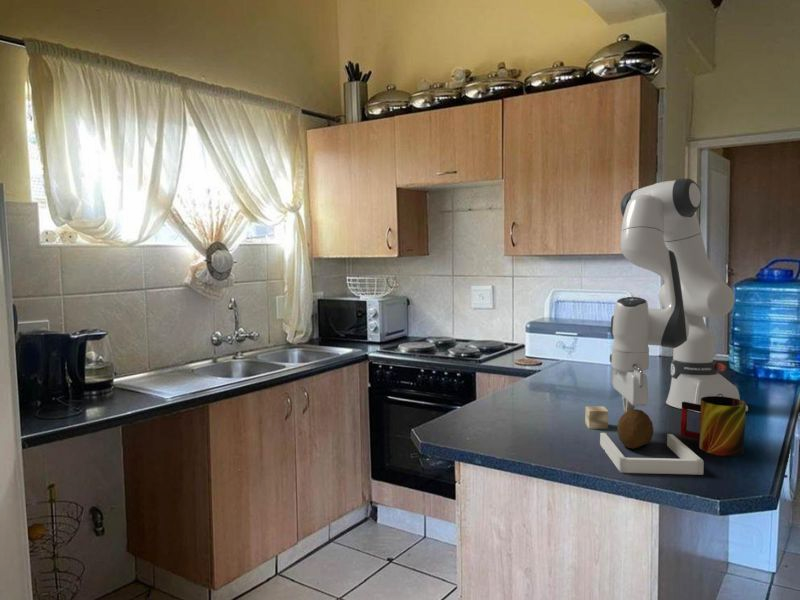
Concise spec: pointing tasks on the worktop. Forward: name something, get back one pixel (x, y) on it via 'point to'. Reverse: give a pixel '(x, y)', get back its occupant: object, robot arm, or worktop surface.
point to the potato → (635, 429)
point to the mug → (718, 425)
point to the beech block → (596, 417)
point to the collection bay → (655, 459)
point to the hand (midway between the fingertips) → (628, 414)
